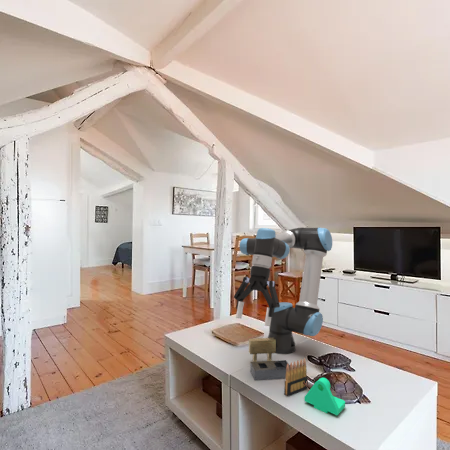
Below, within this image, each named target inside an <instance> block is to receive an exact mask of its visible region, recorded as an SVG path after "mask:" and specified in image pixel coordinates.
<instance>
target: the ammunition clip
mask: <svg viewBox="0 0 450 450" xmlns="http://www.w3.org/2000/svg"><path fill="white" fill-rule="evenodd" d="M289 365H290V371H289ZM306 381H307V382H308V376H307V361H306V358H305V357H304V358H303V359H302V358H300V361H299V360H297V361H296V360H294V361H293V362H292V361H290V363H288V364H287V367H286V379H285V380H284V388H283V389H284V391H283V394H284V395H285V396H286V398H287V397H290V396H294V395H295V394H298V393H301V392H303V391H306V390H308V388H307V387H306V386H305V385H304V384H303V382H305V383H306Z"/></svg>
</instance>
